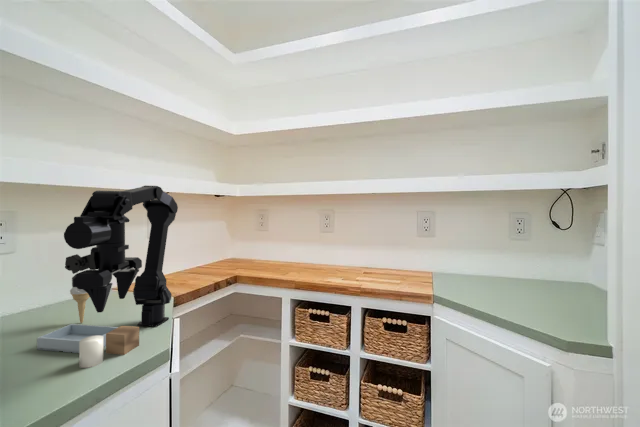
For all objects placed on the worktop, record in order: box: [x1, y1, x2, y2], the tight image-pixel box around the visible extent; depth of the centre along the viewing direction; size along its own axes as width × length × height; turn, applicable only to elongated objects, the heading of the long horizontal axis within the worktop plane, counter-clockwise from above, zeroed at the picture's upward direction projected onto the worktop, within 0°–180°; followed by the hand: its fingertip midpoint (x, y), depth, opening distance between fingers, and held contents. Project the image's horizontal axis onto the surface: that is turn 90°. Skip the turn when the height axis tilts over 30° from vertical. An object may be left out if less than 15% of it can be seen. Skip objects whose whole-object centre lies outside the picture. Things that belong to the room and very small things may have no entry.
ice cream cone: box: [69, 286, 90, 324], centre depth 90 cm, size 6×6×15 cm
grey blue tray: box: [36, 323, 119, 354], centre depth 77 cm, size 9×15×3 cm, turn 84°
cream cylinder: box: [78, 335, 104, 369], centre depth 68 cm, size 4×4×6 cm
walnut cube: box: [105, 325, 140, 356], centre depth 75 cm, size 5×5×5 cm
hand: (111, 305), depth 72 cm, fingers open, 9 cm apart
